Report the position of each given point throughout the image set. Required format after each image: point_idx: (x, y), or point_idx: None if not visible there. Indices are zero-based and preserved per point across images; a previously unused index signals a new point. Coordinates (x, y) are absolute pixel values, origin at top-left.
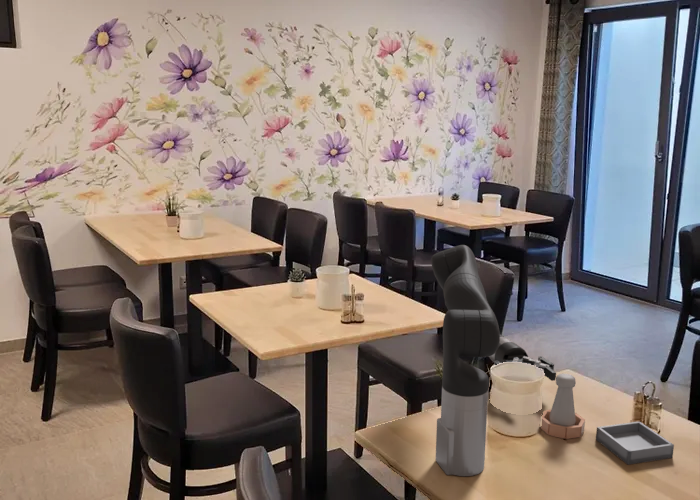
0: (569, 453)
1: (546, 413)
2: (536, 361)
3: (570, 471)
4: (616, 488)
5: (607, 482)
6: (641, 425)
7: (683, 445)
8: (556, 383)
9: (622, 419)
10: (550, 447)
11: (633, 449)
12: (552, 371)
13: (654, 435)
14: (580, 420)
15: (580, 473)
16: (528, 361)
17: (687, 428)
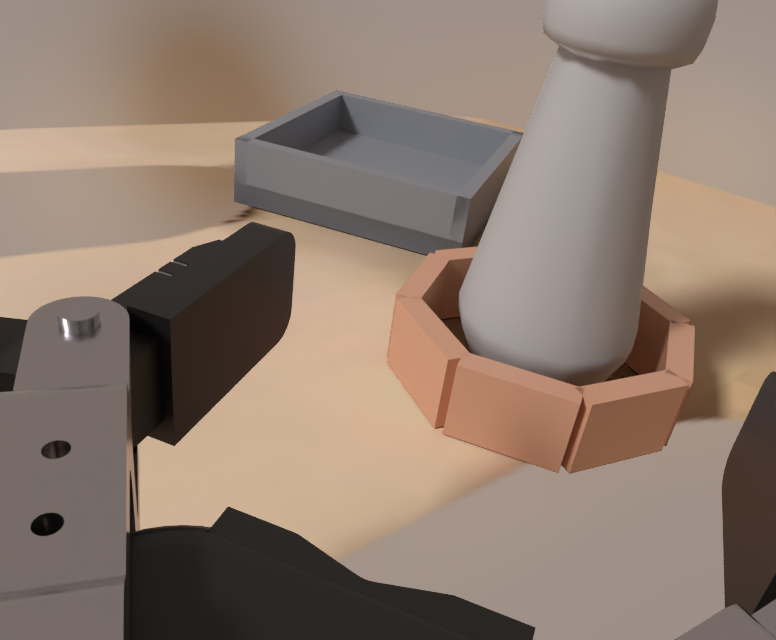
0: (677, 285)
1: (598, 386)
2: (92, 418)
3: (760, 253)
4: (662, 182)
5: (667, 196)
6: (262, 138)
7: (204, 135)
8: (701, 49)
9: (119, 252)
10: (740, 336)
11: (497, 129)
12: (258, 236)
13: (304, 121)
14: (445, 272)
15: (728, 237)
16: (130, 611)
17: (25, 137)
